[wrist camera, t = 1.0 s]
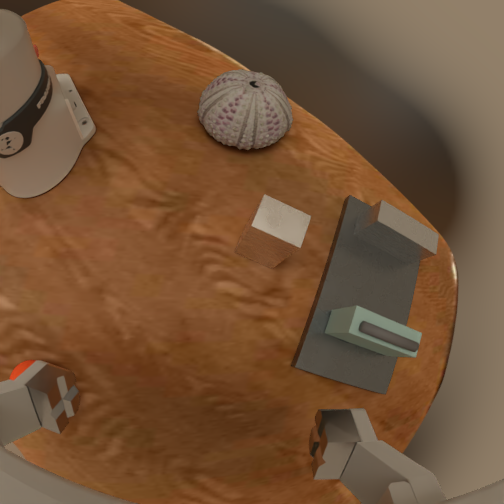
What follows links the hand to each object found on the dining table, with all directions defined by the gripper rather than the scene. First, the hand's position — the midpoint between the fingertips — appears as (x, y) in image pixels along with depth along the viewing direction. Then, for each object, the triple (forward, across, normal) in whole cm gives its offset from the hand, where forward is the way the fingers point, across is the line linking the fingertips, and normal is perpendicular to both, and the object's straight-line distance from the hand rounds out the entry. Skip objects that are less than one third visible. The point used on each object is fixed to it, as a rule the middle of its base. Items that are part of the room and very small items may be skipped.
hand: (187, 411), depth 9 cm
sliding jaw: (+27, -16, +10) cm, 33 cm away
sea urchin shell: (+39, +2, -16) cm, 43 cm away
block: (+31, -2, +1) cm, 31 cm away
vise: (+31, -17, +6) cm, 36 cm away
